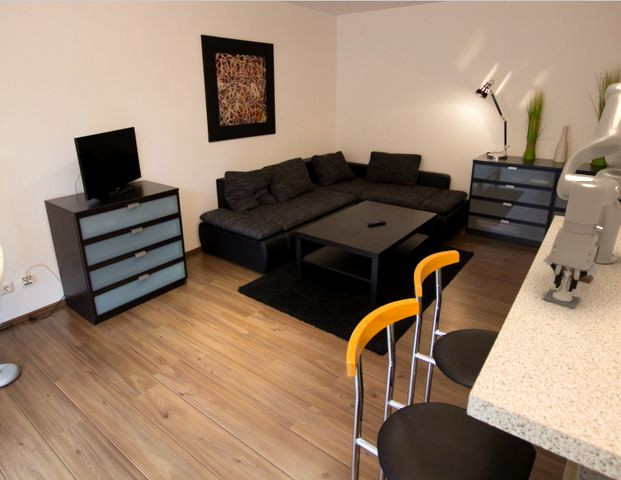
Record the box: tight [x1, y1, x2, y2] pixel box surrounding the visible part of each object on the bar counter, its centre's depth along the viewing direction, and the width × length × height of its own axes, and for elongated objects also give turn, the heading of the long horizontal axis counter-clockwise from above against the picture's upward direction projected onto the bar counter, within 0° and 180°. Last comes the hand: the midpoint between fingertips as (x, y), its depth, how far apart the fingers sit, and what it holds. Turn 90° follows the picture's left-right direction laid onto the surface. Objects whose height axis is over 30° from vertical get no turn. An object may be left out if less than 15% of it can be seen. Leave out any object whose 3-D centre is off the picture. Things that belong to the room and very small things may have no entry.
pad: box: [541, 288, 582, 310], centre depth 117 cm, size 8×8×1 cm
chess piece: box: [552, 267, 573, 302], centre depth 115 cm, size 5×5×10 cm
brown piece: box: [553, 246, 600, 285], centre depth 129 cm, size 5×10×12 cm, turn 46°
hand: (564, 288), depth 116 cm, fingers open, 2 cm apart
